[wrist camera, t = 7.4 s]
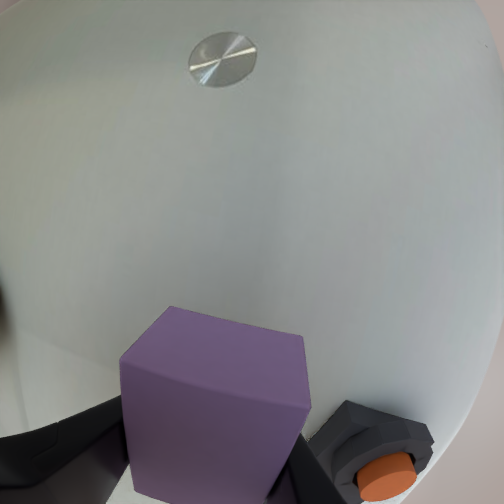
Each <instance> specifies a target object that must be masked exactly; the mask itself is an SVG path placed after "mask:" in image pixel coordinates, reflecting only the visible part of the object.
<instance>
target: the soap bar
mask: <svg viewBox="0 0 504 504" xmlns="http://www.w3.org/2000/svg"><path fill="white" fill-rule="evenodd" d="M119 364H120V384H121V398H122V410H123V420H124V429H125V437H126V444H127V451H128V458H129V464H130V469H131V475H132V480H133V485H134V490H135V491H136V492H138V493H141V494H143V495H146V496H149V497H151V498H154V499H157V500H160V501H163V502H166V503H169V504H263V503H264V501H265V499H266V498H267V496H268V494H269V492H270V490H271V489H272V487H273V485H274V483H275V481H276V480H277V478H278V476H279V474H280V472H281V470H282V468H283V466H284V464H285V462H286V460H287V458H288V457H289V454H290V452H291V450H292V448H293V446H294V444H295V442H296V440H297V438H298V436H299V434H300V432H301V429H302V427H303V425H304V423H305V421H306V418H307V416H308V414H309V412H310V409H311V399H310V390H309V382H308V373H307V365H306V357H305V349H304V341H303V337H302V336H300V335H295V334H290V333H285V332H280V331H275V330H270V329H265V328H260V327H256V326H251V325H246V324H242V323H238V322H233V321H229V320H225V319H221V318H216V317H212V316H208V315H204V314H200V313H196V312H192V311H189V310H185V309H181V308H177V307H174V306H169V307H168V308H167V310H166V311H165V312H164V313H163V314H162V315H161V316H160V317H159V318H158V319H157V320H156V321H155V322H154V323H153V324H152V325H151V326H150V327H149V328H148V329H147V330H146V331H145V332H144V333H143V334H142V335H141V336H140V337H139V338H138V340H137V341H136V342H135V343H134V344H133V345H132V346H131V347H130V348H129V349H128V350H127V351H126V352H125V353H124V354H123V355H122V356H121V358H120V360H119Z"/></svg>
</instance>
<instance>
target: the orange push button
mask: <svg viewBox="0 0 504 504" xmlns="http://www.w3.org/2000/svg"><path fill="white" fill-rule="evenodd" d="M356 476H357V482H358V487H359V492H360V497H361V498H362V499H363V500H365V501H370V502H374V501H382V500H386V499H389V498H392V497H394V496H397V495H399V494H401V493H402V492H404V491H406V490H407V489H408V488H409V487H411V486H412V485H413V483H414V482H415V481H416V478H417V474H416V472H415V469H414V466H413V464H412V461H411V459H410V456H409V455H408V454H407V453H405V452H397V453H392V454H387V455H383V456H381V457H379V458H377V459H375V460H373V461H371V462H368V463H366V464H365V465H364V466H363V467H362V468H361V469H359V470H358V472H357V475H356Z"/></svg>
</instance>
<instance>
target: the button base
mask: <svg viewBox="0 0 504 504" xmlns="http://www.w3.org/2000/svg"><path fill="white" fill-rule="evenodd" d="M433 443H434V440H433V438H432V436H431V434H430V432H429V430H428V428H427V426H426V424H423V423H419V422H415V421H411V420H408V419H404V418H400V417H397V416H393V415H390V414H387V413H383V412H380V411H377V410H374V409H370V408H367V407H364V406H361V405H358V404H355V403H352V402H349V401H345V402H344V403H343V404H342V405H341V407H340V408H339V409H338V410H337V411H336V412H335V414H334V415H333V416H332V417H331V418H330V419H329V420H328V421H327V422H326V424H325V425H324V426H323V427H322V428H321V429H320V430H319V431H318V432H317V433H316V434H315V435H314V436H313V437H312V438H311V439H310V440H309V441H308V443H307V444H308V445H309V447H310V448H311V450H312V451H313V453H314V455H315V456H316V458H317V459H318V461H319V462H320V464H321V465H322V467H323V468H324V470H325V471H326V473H327V474H328V476H329V477H330V479H331V480H332V482H333V483H334V485H335V486H336V488H337V489H338V491H339V492H340V494H341V495H342V496H343V498H342V499H345V501H346V502H347V503H348V504H361V503H362V502H364V501H365V500H363V499H362V498H361V497H360V492H359V487H358V482H357V476H356V475H357V472H358V470H359V469H361V468H362V467H363V466H364V465H365V464H366V463H368V462H371V461H373V460H375V459H377V458H379V457H381V456H383V455H387V454H392V453H397V452H405V453H407V454H408V455H409V456H410V459H411V461H412V464H413V466H414V469H415V472H416V474H417V475H418V474H419V473H420V472H421V471H423V470H424V469H425V468H426V466H427V464H428V462H429V460H430V458H431V456H432V454H433V451H432V448H431V445H432V444H433ZM266 502H267V498H266V499H265V501H264V503H263V504H266Z"/></svg>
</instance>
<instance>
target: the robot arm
mask: <svg viewBox="0 0 504 504" xmlns="http://www.w3.org/2000/svg"><path fill="white" fill-rule="evenodd" d="M128 465H129V458H128V451H127V444H126V437H125V429H124V420H123V410H122V398H121V395H119V396H117V397H115V398H113V399H111V400H108V401H106V402H104V403H102V404H99V405H97V406H95V407H92V408H90V409H88V410H85V411H83V412H81V413H78V414H76V415H73V416H71V417H68V418H66V419H63V420H61V421H59V422H58V423H57V422H56V423H53V424H50V425H48V426H45V427H42V428H39V429H36V430H33V431H29V432H25V433H21V434H17V435H12V436H7V437H2V438H0V504H106V502H107V500H108V499H109V497H110V495H111V493H112V492H113V490H114V488H115V487H116V485H117V483H118V482H119V480H120V478H121V476H122V475H123V473H124V471H125V470H126V468H127V466H128ZM342 498H343V496H342V495H341V494H340V492H339V491H338V489H337V488H336V486H335V485H334V483H333V482H332V480H331V479H330V477H329V476H328V474H327V473H326V471H325V470H324V468H323V467H322V465H321V464H320V462H319V461H318V459H317V458H316V456H315V455H314V453H313V451H312V450H311V448H310V447H309V445H308V444H307V442H306V441H305V439H304V437H303V436H302V434H301V433H300V434H299V436H298V438H297V440H296V442H295V444H294V446H293V448H292V450H291V452H290V454H289V457H288V458H287V460H286V462H285V464H284V466H283V468H282V470H281V472H280V474H279V476H278V478H277V480H276V481H275V483H274V485H273V487H272V489H271V490H270V492H269V494H268V496H267V502H266V504H348V503H347V502H346V501H345V499H342Z"/></svg>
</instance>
